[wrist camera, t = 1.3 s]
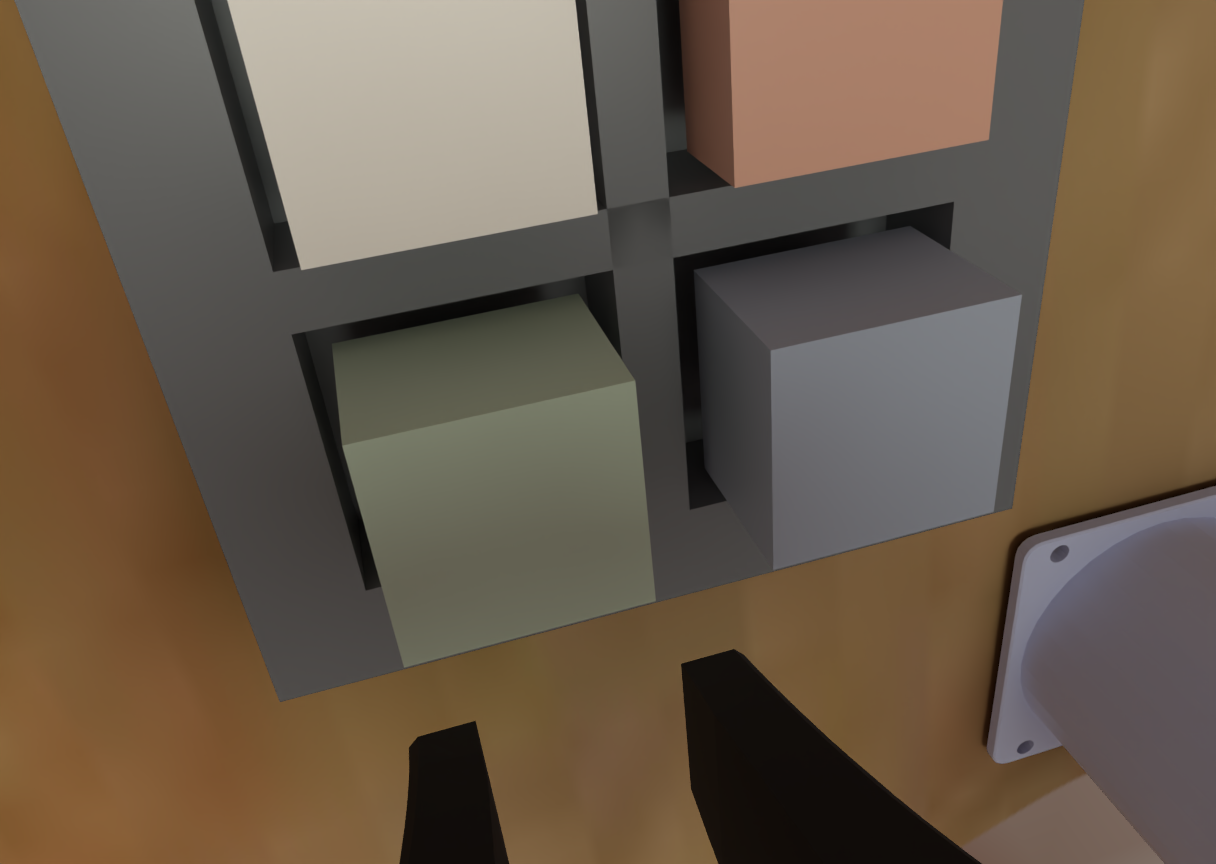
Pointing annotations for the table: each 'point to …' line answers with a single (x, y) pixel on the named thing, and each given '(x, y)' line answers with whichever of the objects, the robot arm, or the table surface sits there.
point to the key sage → (496, 474)
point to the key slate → (853, 390)
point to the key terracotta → (833, 81)
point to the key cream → (418, 119)
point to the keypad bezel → (482, 282)
